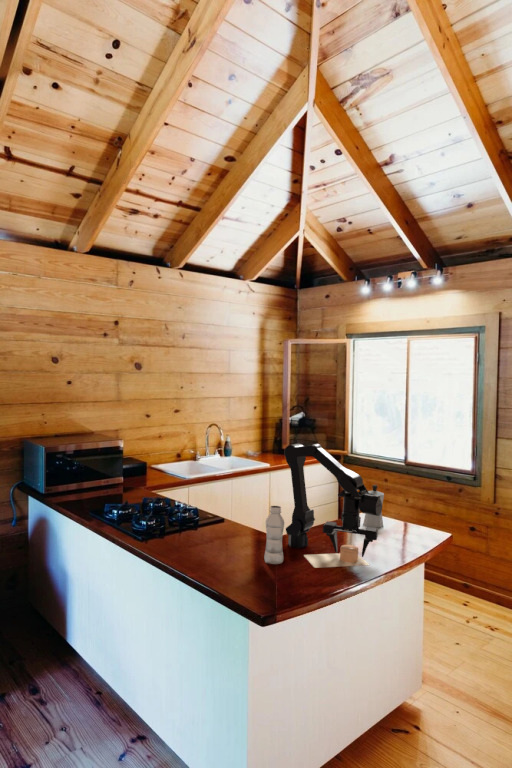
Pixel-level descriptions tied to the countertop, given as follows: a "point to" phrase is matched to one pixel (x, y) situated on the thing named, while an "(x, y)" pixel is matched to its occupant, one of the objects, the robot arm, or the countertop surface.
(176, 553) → the countertop surface
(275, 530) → the plastic bottle
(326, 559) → the board
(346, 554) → the cap
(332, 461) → the robot arm
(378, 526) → the coffee maker
